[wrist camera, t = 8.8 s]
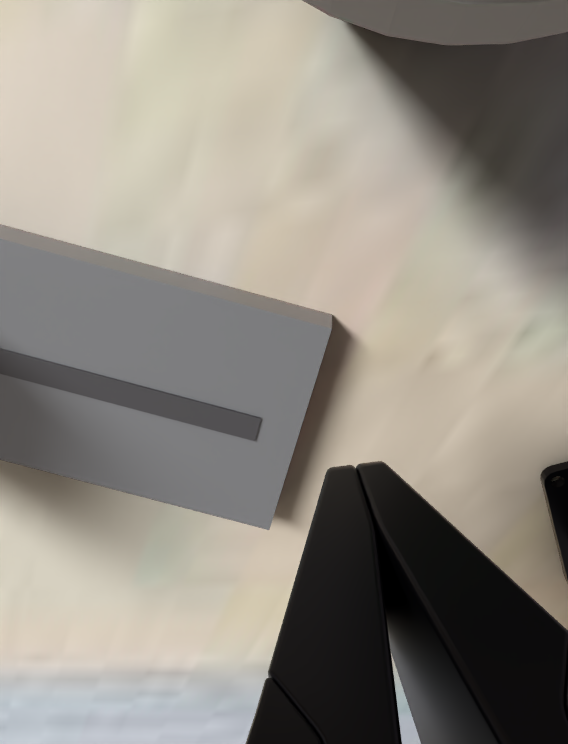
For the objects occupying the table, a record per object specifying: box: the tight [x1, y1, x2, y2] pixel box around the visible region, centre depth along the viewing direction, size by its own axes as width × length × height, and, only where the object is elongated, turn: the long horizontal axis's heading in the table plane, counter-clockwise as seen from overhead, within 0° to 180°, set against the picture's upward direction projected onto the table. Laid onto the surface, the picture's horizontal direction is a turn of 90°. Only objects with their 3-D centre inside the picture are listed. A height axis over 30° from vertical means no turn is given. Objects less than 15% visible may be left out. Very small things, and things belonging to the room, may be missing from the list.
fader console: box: [0, 225, 332, 530], centre depth 20 cm, size 20×9×2 cm, turn 76°
